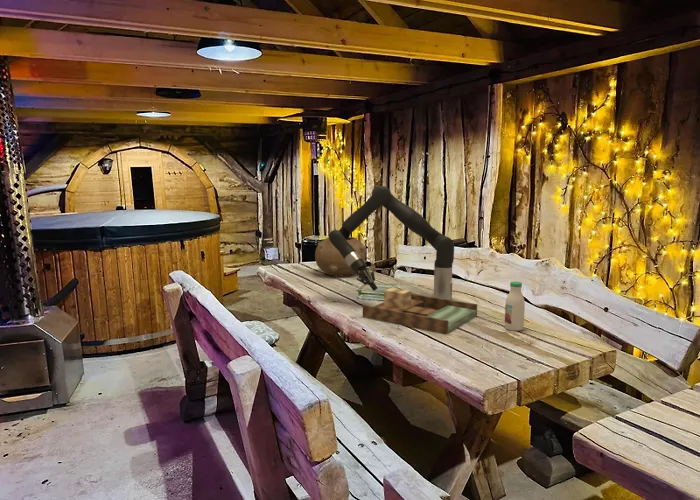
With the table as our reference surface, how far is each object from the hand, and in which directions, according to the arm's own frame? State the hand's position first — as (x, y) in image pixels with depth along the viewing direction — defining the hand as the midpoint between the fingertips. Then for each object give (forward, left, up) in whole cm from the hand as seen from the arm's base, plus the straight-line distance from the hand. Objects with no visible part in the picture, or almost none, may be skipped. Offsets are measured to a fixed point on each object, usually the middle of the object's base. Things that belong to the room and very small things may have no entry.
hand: (375, 289), depth 231 cm
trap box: (-21, +12, -9) cm, 26 cm away
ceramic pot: (+28, -80, -10) cm, 85 cm away
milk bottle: (-60, +26, -10) cm, 66 cm away
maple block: (-11, +6, -6) cm, 14 cm away
